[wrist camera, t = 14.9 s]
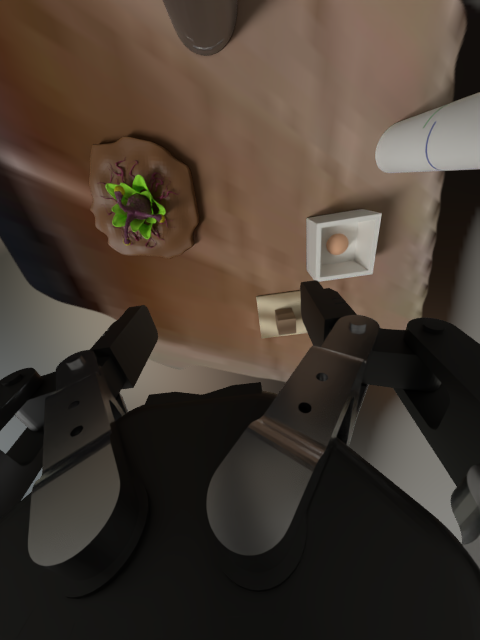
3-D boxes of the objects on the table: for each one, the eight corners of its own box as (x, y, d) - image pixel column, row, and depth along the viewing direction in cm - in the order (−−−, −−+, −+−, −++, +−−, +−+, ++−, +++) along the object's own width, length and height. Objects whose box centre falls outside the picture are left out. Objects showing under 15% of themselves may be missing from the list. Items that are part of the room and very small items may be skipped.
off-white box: (306, 218, 45) (316, 223, 39) (362, 208, 44) (381, 213, 38) (306, 269, 50) (315, 282, 44) (356, 262, 49) (372, 274, 43)
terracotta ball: (324, 233, 45) (330, 237, 42) (344, 230, 45) (353, 234, 42) (323, 253, 48) (329, 259, 44) (342, 250, 47) (350, 255, 44)
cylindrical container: (368, 169, 40) (511, 158, 19) (387, 117, 37) (591, 29, 15) (406, 176, 41) (587, 171, 20) (428, 124, 37) (681, 50, 16)
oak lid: (256, 295, 54) (257, 307, 49) (307, 288, 53) (314, 299, 48) (261, 336, 60) (263, 350, 55) (307, 330, 59) (313, 344, 54)
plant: (200, 146, 39) (187, 135, 29) (199, 259, 49) (189, 278, 40) (79, 132, 38) (25, 115, 28) (104, 250, 48) (71, 267, 39)
